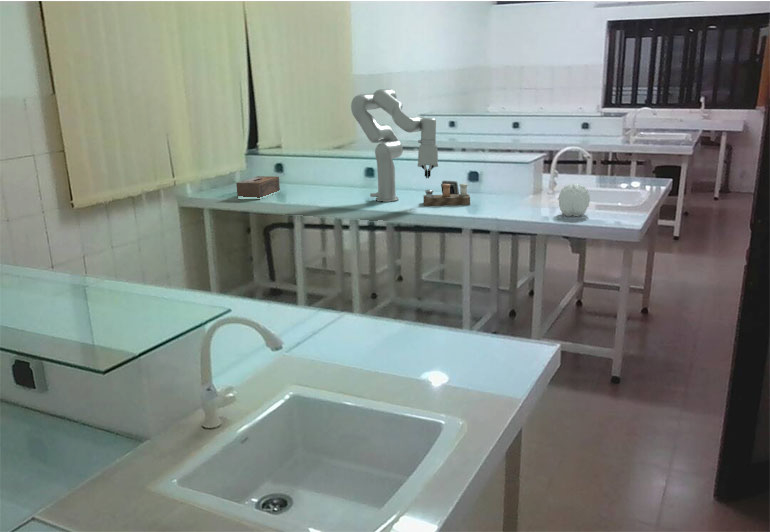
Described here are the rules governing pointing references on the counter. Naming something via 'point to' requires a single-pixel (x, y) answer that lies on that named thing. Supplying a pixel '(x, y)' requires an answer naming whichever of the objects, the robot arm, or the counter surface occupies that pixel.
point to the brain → (574, 199)
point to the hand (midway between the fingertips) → (427, 177)
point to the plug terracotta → (446, 190)
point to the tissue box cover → (258, 186)
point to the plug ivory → (463, 189)
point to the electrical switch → (451, 186)
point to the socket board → (446, 200)
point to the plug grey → (429, 193)
